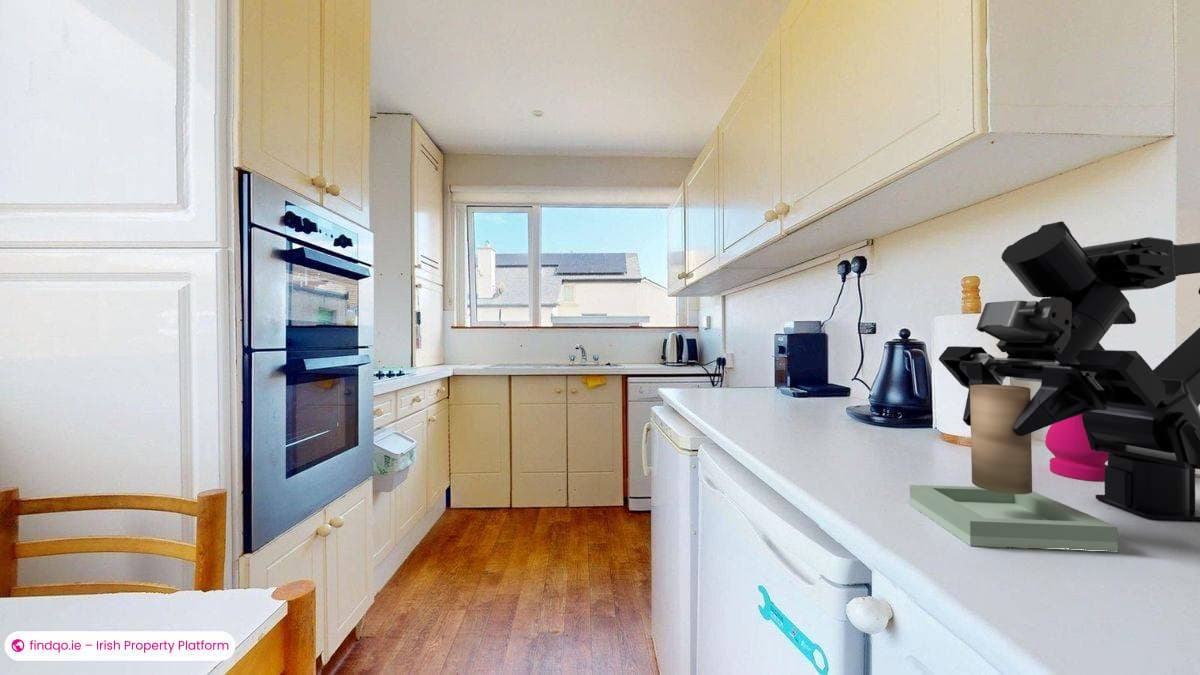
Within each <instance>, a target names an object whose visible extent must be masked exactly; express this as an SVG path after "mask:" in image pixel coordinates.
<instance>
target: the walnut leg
mask: <svg viewBox="0 0 1200 675" xmlns="http://www.w3.org/2000/svg"><path fill="white" fill-rule="evenodd" d="M1031 399H1032V398H1031V388H1030V387H1028V386H1027V387H1026V386H1019V385H1007V384H1002V385H971V386H970V413H971V426H970V450H971V453H970V454H971V455H970V456H971V483H972V484H973V485H974V487H980V488H983V489H986V490H990V491H994V492H999V493H1006V494H1029V493H1032V491H1033V464H1032V463H1033V462H1032V460H1033V458H1032V456H1033V455H1032V454H1033V453H1032V451H1033V450H1032V433H1029V434H1027V435H1024V436H1018V435H1016V433H1015V432H1014V431H1013V427H1014V425H1015V423H1016V421H1017V419H1018V417H1019V416H1020V415H1021V413H1022V412H1023V410H1024V409H1025V408H1026V406H1027V405H1028V404H1029V402H1030V401H1031Z"/></svg>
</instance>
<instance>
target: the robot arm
mask: <svg viewBox="0 0 1200 675" xmlns="http://www.w3.org/2000/svg"><path fill="white" fill-rule="evenodd" d="M1001 261H1002V262H1003V263H1004V264H1005V265H1006V267H1007V269H1009V270H1010V271H1011V273H1012V274H1013V275H1014V276H1015V277H1016V278H1017V280H1018V281H1019V282H1020V283H1021V284H1022V285H1023V287H1024V288H1025V289H1026V290H1027V292H1028V293H1029V294H1030V295H1031V296H1032V297H1036V298H1042V299H1040V300H1039V301H1037V300H1032V301H1031V300H1029V301H1027V300H1007V301H1006V300H1005V301H991V302H986V303H985V304H984V307H983V309H982V312H981V315H980V317H979V320H978V323H977V325H976V327H975V328H976V330H977V331H979V333H985V334H987V335H990V336H991V337H993V338H995V339H997V340H999V341H998V342H997V343H996V344H995V346H996V347H997V348H998V350H999V351H1000V352H1001V353H1006V354H1007V357H995V356H994V355H991V354H990V353H988V352H987V351H986V350H985V348H983V347H982V346H962V345H961V346H958V345H957V346H956V345H953V346H947V347H946V349H945V350H944V351H943V352H942V353H941V354H940V356H939V358H938V361H939V362H940V363H941V364H942V365H943V366H944V367H945V368H946V370H947V371H948V372H949V373H950V374H951V376H953V377H954V378H955V380H956V381H957V382H958V383H959V385H961V386H962V387H964V388H967V389H968V391H967V398H966V402H965V407H964V411H963V417H962V421H963V422H964V423H965V424H966V425H967V426H968V427H971V413H970V386H971V385H1004V384H1003V383H1004V382H1003V381H1004V380H1005V379H1006V378H1008V377H1009V378H1013V379H1014V380H1016V381H1024V382H1025V381H1026V382H1038V383H1040V387H1039V388H1038V390H1037V392H1035V394H1034V396H1032V398H1031V401H1030V402H1029V404H1028V405H1027V406H1026V408H1025V409H1024V410H1023V412H1022V413H1021V415H1020V416H1019V417H1018V419H1017V421H1016V423H1015V425H1014V427H1013V431H1014V432H1015V433H1016V435H1018V436H1024V435H1027V434H1029V433H1031V434H1032V433H1034V432H1036V431H1039V430H1041V429H1044V428H1047V427H1048V426H1049V427H1050V426H1051V425H1052V424H1054V423H1057V422H1060V421H1062V420H1065V419H1068V418H1071V417H1074V416H1077V415H1080V414H1082V421H1083V424H1084V428H1085V431H1086V434H1087V437H1088V441H1089V444H1090V447H1091V450H1093V451H1101V452H1107V453H1112V454H1108V461H1107V465H1108V466H1106V467H1105V481H1104V494H1095V499H1096V500H1098V501H1099V502H1100V501H1101V502H1103V503H1105V504H1108V505H1112V506H1114V507H1117V508H1119V509H1122V510H1125V511H1127V512H1129V513H1132V514H1135V515H1138V516H1140V517H1143V518H1147V519H1157V520H1181V521H1183V520H1184V521H1200V511H1197V510H1196V470H1200V409H1199V406H1200V327H1199V328H1197V329H1196V330H1195V331H1194V332H1192V334H1191V335H1189V336H1188V337H1187V339H1185V340H1184V341H1183V342H1182V343H1181V344H1180V345H1179V346H1178V347H1177V348H1175V349H1174V350H1173V351H1172V352H1171V353H1170V354H1169V355H1168V356H1167V357H1166V358H1164V359H1163V360H1162V361H1161V362H1160V363H1159V364H1158V365H1156V366H1155V368H1153V369H1152V367H1151V366H1150V365H1149V364H1148V363H1147V361H1146V360H1145V359H1144V358H1143V357H1142V355H1140V353H1139V352H1138V351H1136V350H1116V349H1115V350H1113V349H1105V348H1104V347H1103V345H1102V344H1101V343H1100V342H1101V340H1102V339H1103V338H1104V337H1105V335H1106V334H1107V333H1108V331H1109V330H1110V329H1111V328H1112V326H1113V325H1134V324H1136V323H1137V316H1136V314H1135V312H1134V311H1133V309H1132V308H1131V306H1130V301H1129V300H1128V299H1127V297H1126V296H1125V294H1124V293H1123V291H1125V292H1126V291H1137V290H1138V291H1141V290H1149V289H1155V288H1158V287H1162V286H1165V285H1166V284H1167V285H1168V284H1170V283H1173V282H1174V281H1176V279H1177V277H1178V276H1182V275H1183V276H1184V275H1185V276H1186V275H1192V274H1193V275H1194V274H1200V242H1196V243H1195V242H1194V243H1183V244H1174V241H1173V240H1171V239H1166V238H1165V239H1164V238H1159V237H1151V236H1149V237H1148V236H1147V237H1142V238H1141V237H1140V238H1133V239H1128V240H1122V241H1116V242H1115V241H1113V242H1109V243H1108V242H1107V243H1101V244H1095V245H1090V246H1089V245H1088V246H1083V247H1082V246H1081V244H1080V243H1079V242H1078V241H1077V239H1076V238H1075V237H1074V236H1073V235H1072V233H1071V230H1070V229H1069V226H1067V224H1066V223H1065V222H1064V221H1057V222H1051V223H1048V224H1043V225H1041V226H1040V227H1039V229H1038V230H1037V231H1034V232H1032V233H1030V234H1027V235H1025V236H1024V237H1021V238H1020V239H1018V240H1017V241H1016V242H1014V243H1013V244H1010V245H1008V246H1007V247H1006V248H1005V249H1004V250H1003V251H1002V253H1001ZM1198 294H1199V295H1200V287H1199V289H1198Z"/></svg>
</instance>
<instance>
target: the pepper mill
mask: <svg viewBox="0 0 1200 675" xmlns="http://www.w3.org/2000/svg"><path fill="white" fill-rule="evenodd" d="M1044 444H1045V447H1046V448H1047V450H1048V451H1049V452H1050V453H1051V454H1052V455H1053V456H1054V457H1051V458H1050V459H1049V471H1050V472H1051V473H1053V474H1056V475H1058V476H1062V477H1066V478H1069V479H1074V480H1080V481H1081V480H1082V481H1090V482H1105V467H1106V466H1108V464H1106V463H1108V454H1112V453H1107V452H1101V451H1093V450H1091V447H1090V444H1089V441H1088V437H1087V434H1086V431H1085V428H1084V424H1083V421H1082V414H1080V415H1077V416H1074V417H1071V418H1068V419H1065V420H1062V421H1060V422H1057V423H1054V424H1052V425H1049V427H1048V429H1047V432H1046V435H1045V441H1044Z"/></svg>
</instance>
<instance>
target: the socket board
mask: <svg viewBox="0 0 1200 675" xmlns="http://www.w3.org/2000/svg"><path fill="white" fill-rule="evenodd" d="M909 505H910V506H911V507H913V508H915V509H916V510H918V512H920V513H921V514H923V515H924V516H926V517H927V518H929V519H930V520H932V521H933V522H935V523H936V524H937V525H939V526H941V527H942V528H943V529H945V530H946V531H948V532H949V533H951V534H952V535H953V536H955V537H956V538H958V539H959V540H961V541H963V542H964V543H965V544H967V545H968V544H969V545H968V546H970V545H971V546H970V547H985V546H986V548H987V547H989V548H1006V547H1010V549H1012V548H1011V547H1014V548H1013V549H1028V548H1065V549H1066V548H1069V549H1084V550H1085V549H1086V550H1105V551H1106V550H1107V551H1118V549H1119V548H1118V526H1116V525H1114V524H1112V523H1109V522H1107V521H1105V520H1102V519H1100V518H1098V517H1095V516H1092V515H1090V514H1088V513H1086V512H1083V511H1081V510H1079V509H1076V508H1074V507H1071V506H1069V505H1067V504H1065V503H1062V502H1059V501H1057V500H1054V499H1053V498H1050V497H1048V496H1045V495H1043V494H1041V493H1038V492H1036V491H1034V490H1032V493H1029V494H1006V493H999V492H994V491H990V490H986V489H983V488H980V487H977V486H965V485H964V486H963V485H962V486H961V485H958V486H957V485H933V484H932V485H929V484H910V485H909ZM1015 547H1016V548H1015ZM1017 547H1018V548H1017ZM1019 547H1020V548H1019ZM1021 547H1022V548H1021Z"/></svg>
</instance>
